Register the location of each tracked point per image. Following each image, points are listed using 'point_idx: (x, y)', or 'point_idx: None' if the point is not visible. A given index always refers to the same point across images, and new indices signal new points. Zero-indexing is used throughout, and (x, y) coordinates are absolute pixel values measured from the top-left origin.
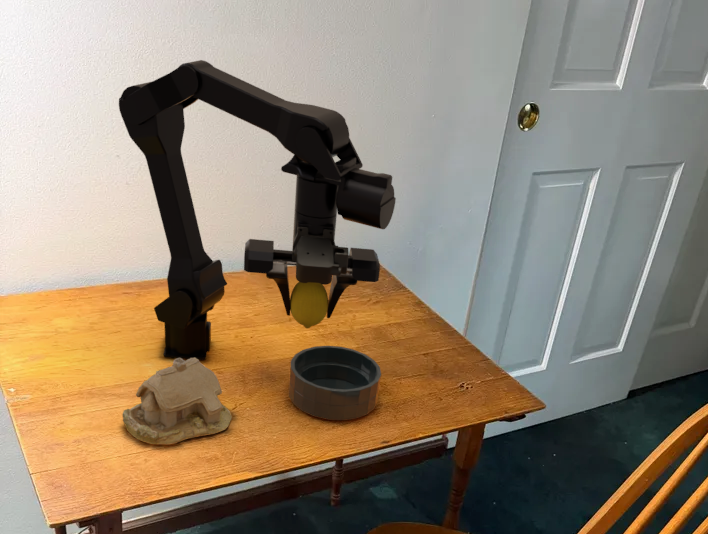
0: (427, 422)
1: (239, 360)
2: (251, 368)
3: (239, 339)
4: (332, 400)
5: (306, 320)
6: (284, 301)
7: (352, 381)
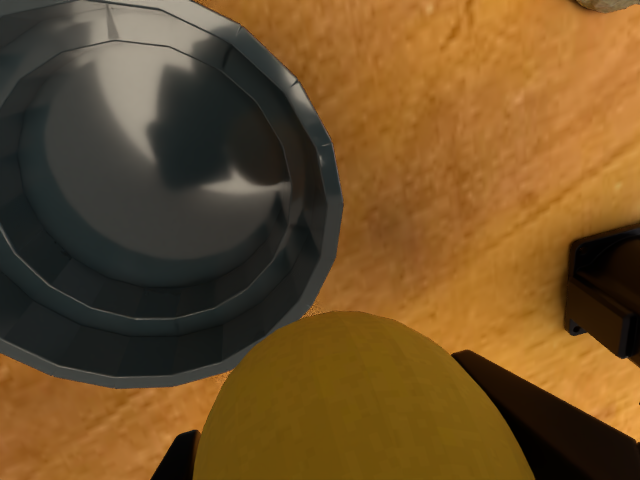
0: None
1: (480, 281)
2: (445, 254)
3: None
4: None
5: (330, 318)
6: (570, 410)
7: (119, 284)
